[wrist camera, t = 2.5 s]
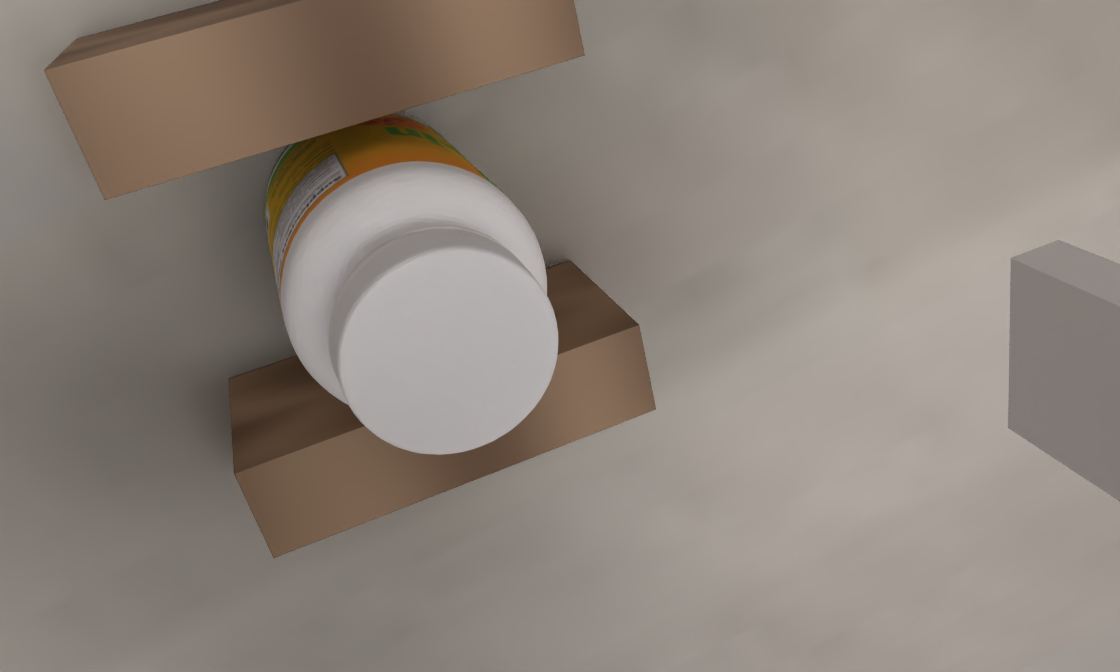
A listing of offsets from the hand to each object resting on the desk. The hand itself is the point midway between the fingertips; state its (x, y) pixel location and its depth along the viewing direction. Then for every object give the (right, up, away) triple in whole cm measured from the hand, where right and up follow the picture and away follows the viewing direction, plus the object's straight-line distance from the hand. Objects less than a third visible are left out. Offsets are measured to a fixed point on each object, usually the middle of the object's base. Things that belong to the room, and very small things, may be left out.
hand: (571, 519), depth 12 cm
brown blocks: (-5, +6, +13) cm, 15 cm away
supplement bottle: (-5, +6, +13) cm, 16 cm away
